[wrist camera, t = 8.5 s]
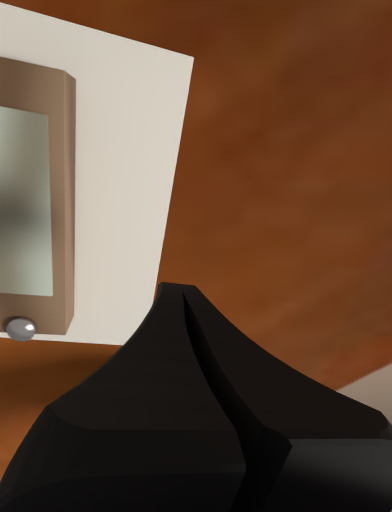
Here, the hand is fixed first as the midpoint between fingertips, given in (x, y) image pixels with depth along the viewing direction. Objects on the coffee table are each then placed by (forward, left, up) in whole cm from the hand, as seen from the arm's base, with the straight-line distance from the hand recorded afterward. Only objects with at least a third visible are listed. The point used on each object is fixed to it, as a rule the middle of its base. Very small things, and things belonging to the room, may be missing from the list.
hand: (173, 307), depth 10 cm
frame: (+8, 0, -9) cm, 12 cm away
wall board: (+8, 0, -10) cm, 13 cm away
